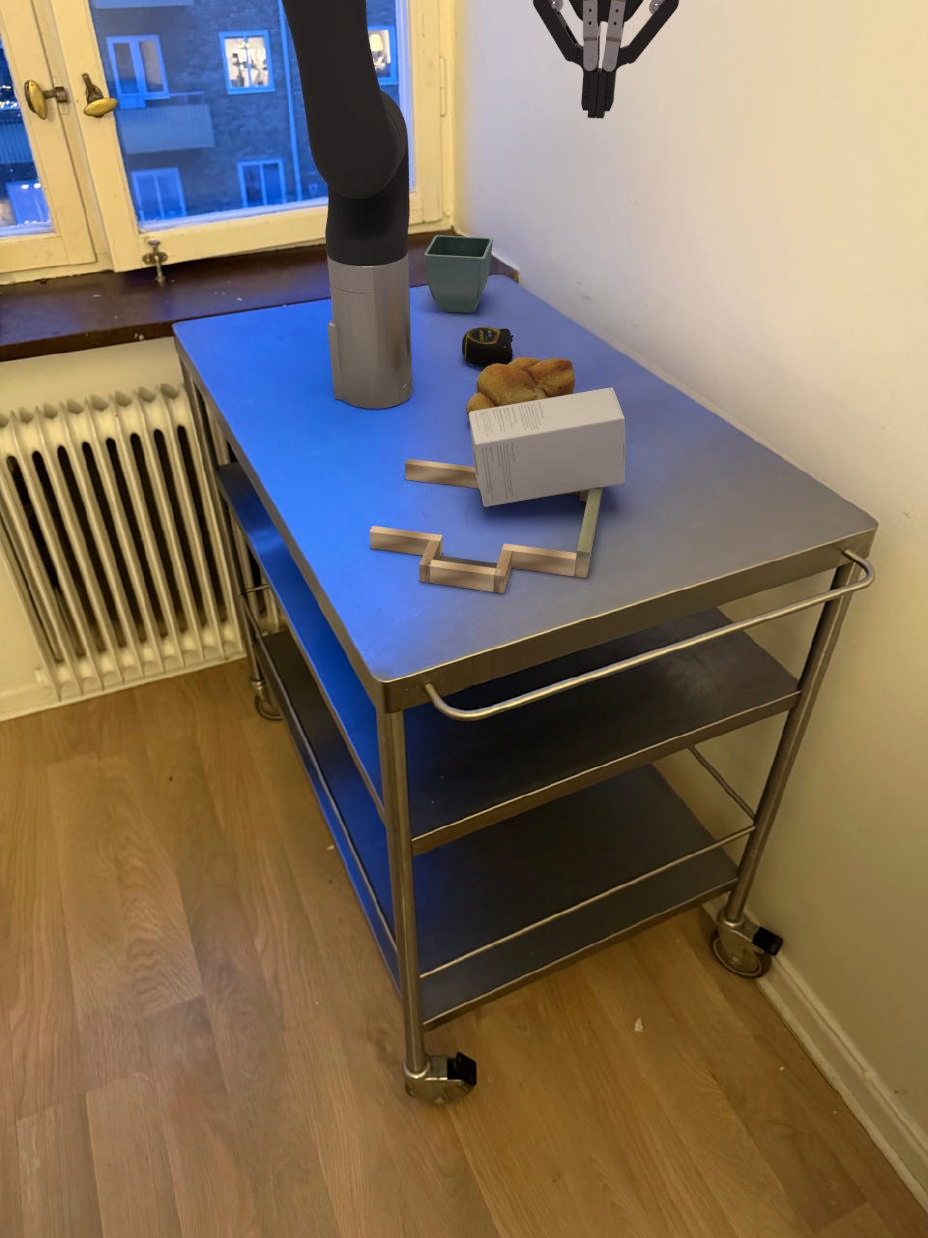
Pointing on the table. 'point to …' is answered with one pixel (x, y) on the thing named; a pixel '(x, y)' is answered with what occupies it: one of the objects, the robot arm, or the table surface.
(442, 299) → the flower pot
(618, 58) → the robot arm
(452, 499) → the table surface
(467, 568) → the trap lane
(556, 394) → the bread roll
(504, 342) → the tape measure
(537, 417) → the skincare box
